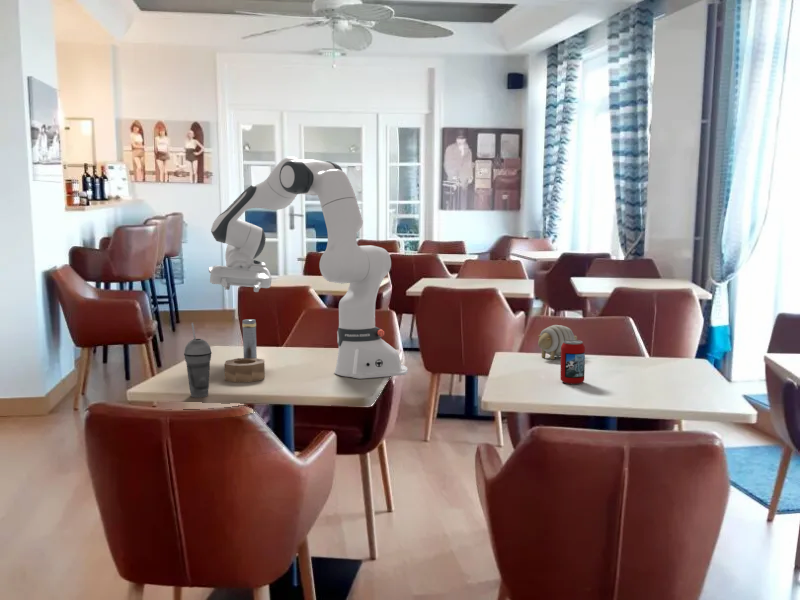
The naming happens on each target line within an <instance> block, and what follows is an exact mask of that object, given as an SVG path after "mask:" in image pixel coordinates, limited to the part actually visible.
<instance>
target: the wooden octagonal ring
mask: <svg viewBox="0 0 800 600" xmlns="http://www.w3.org/2000/svg"><path fill="white" fill-rule="evenodd" d="M265 365H266V364H265V359H264V358H263V359H262V358H259V357H257V358H244V357H241V358H240V357H237V358H234V359H228V360H225V362H224V381H225V382H230V383H231V382H232V383H254V382H258V381H262V380H265V377H266V375H265V374H266V371H265V370H266V369H265V367H266V366H265Z"/></svg>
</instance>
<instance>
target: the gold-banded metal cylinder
mask: <svg viewBox="0 0 800 600" xmlns="http://www.w3.org/2000/svg"><path fill="white" fill-rule="evenodd" d="M241 325H242V343H243V344H242V345H243V346H242V347H243V348H242V349H243V358H258V356H257V355H258V354H257V322H256V319H252V318H251V319H250V318H247V319H243V320H242V324H241Z"/></svg>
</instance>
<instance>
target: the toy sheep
mask: <svg viewBox="0 0 800 600" xmlns="http://www.w3.org/2000/svg"><path fill="white" fill-rule="evenodd" d="M537 337H538V343H537V345H538V347H539V349H541V358H542V359H545V358H546V354H548V356H550V360H552V361H553V360H555V357H561V346H562V344H563V342H564V341H565V340H578V336H577V335H575V334H574V333H573V330H572V329H571V328H570V327H568V326H565V325H561V324H560V325H558V324H553V325H550V326H547V327H546V328H544V329H542V331H541V332H540V334H538V335H537Z"/></svg>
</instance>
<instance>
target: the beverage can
mask: <svg viewBox="0 0 800 600" xmlns="http://www.w3.org/2000/svg"><path fill="white" fill-rule="evenodd" d="M585 364H586V346H585V345H584V342H583V341H582V340H579V339H577V340H565V341H564V342H563V344H562V346H561V356H560V381H562V382H563V383H564V384H566V385H580V384H582V383H583V382H584V381H585V373H586V372H585V370H586V367H585V366H586V365H585Z"/></svg>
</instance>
